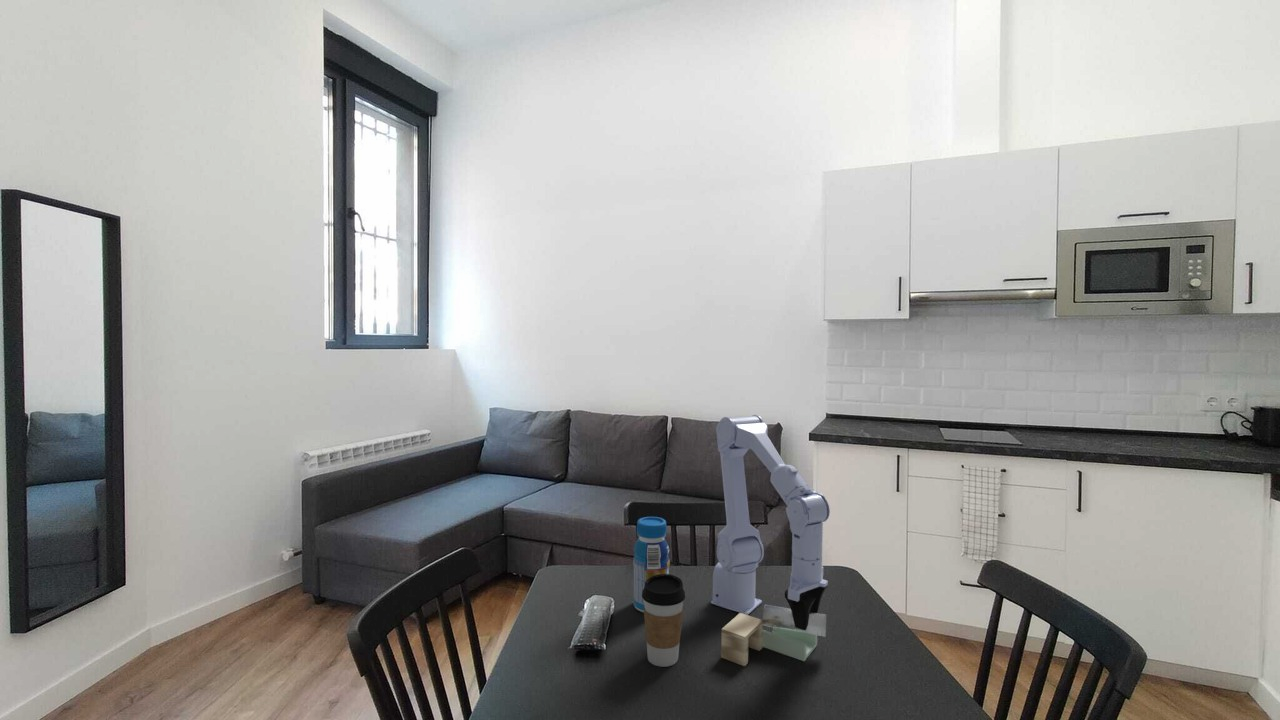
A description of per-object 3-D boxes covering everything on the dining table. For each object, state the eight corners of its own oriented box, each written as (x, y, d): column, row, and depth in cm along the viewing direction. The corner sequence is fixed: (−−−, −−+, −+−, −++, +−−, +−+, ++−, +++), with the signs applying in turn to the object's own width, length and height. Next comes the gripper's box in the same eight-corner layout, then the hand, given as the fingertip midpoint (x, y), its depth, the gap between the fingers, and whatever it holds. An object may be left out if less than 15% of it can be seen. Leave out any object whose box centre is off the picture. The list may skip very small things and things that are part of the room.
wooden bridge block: (721, 657, 111) (721, 628, 111) (739, 639, 118) (740, 612, 117) (744, 666, 108) (745, 637, 108) (762, 647, 115) (762, 620, 114)
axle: (762, 628, 114) (763, 608, 114) (764, 621, 118) (765, 601, 118) (825, 640, 110) (826, 618, 110) (825, 632, 114) (826, 611, 114)
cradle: (760, 646, 115) (761, 631, 115) (775, 631, 121) (775, 617, 121) (804, 661, 110) (804, 646, 110) (817, 645, 116) (817, 630, 116)
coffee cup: (689, 650, 113) (690, 576, 113) (678, 674, 106) (678, 595, 105) (649, 643, 116) (649, 570, 116) (635, 665, 108) (635, 588, 108)
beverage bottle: (625, 608, 131) (626, 522, 130) (645, 594, 138) (646, 512, 137) (657, 618, 126) (657, 529, 125) (676, 603, 133) (676, 519, 132)
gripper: (814, 572, 105) (813, 645, 105) (838, 548, 116) (837, 614, 117) (777, 563, 109) (776, 633, 109) (804, 541, 120) (803, 604, 121)
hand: (805, 622), depth 113 cm, fingers closed on axle, 5 cm apart
